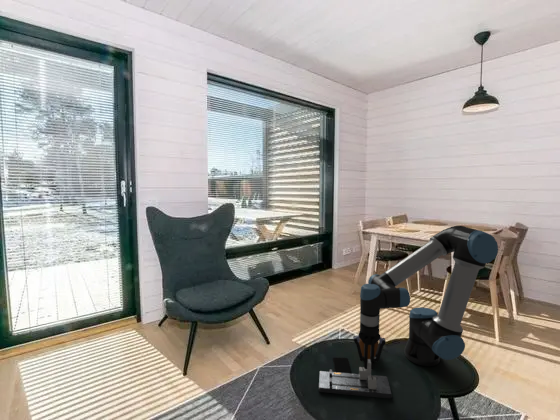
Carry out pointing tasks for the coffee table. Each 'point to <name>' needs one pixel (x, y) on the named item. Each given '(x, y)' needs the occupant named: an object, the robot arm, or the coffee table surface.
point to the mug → (368, 348)
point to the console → (352, 385)
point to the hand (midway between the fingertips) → (368, 375)
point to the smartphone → (342, 365)
